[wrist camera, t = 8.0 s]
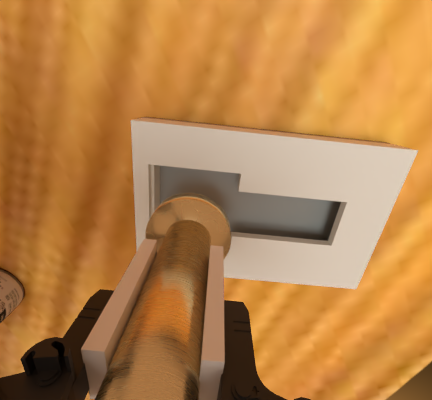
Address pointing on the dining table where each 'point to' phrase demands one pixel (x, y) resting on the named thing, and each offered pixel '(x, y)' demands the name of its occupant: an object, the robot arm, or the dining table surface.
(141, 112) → the dining table surface
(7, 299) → the spray can
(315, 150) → the board
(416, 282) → the dining table surface
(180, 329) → the peg
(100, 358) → the robot arm
